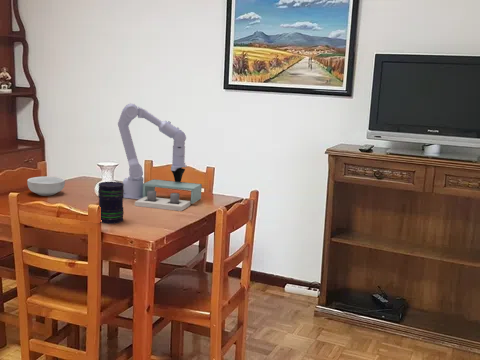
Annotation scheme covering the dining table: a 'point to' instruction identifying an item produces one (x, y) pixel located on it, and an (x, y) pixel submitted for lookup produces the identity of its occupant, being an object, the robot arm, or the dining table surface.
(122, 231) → the dining table surface
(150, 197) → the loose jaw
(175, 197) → the block
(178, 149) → the robot arm
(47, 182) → the cereal bowl
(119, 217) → the storage jar
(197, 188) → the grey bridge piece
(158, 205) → the grey base plate
